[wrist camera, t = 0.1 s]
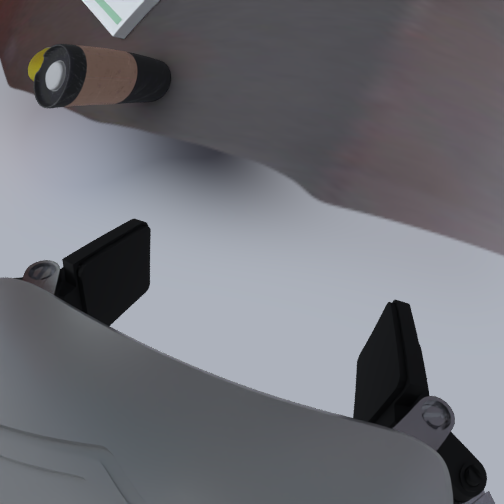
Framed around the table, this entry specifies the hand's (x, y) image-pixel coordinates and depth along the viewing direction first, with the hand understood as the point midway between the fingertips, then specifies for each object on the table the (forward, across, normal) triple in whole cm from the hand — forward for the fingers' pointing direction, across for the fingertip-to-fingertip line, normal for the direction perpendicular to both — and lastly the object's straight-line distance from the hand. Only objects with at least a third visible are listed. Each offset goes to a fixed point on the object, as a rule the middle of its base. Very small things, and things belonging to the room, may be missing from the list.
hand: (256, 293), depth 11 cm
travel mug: (+31, +28, -9) cm, 43 cm away
